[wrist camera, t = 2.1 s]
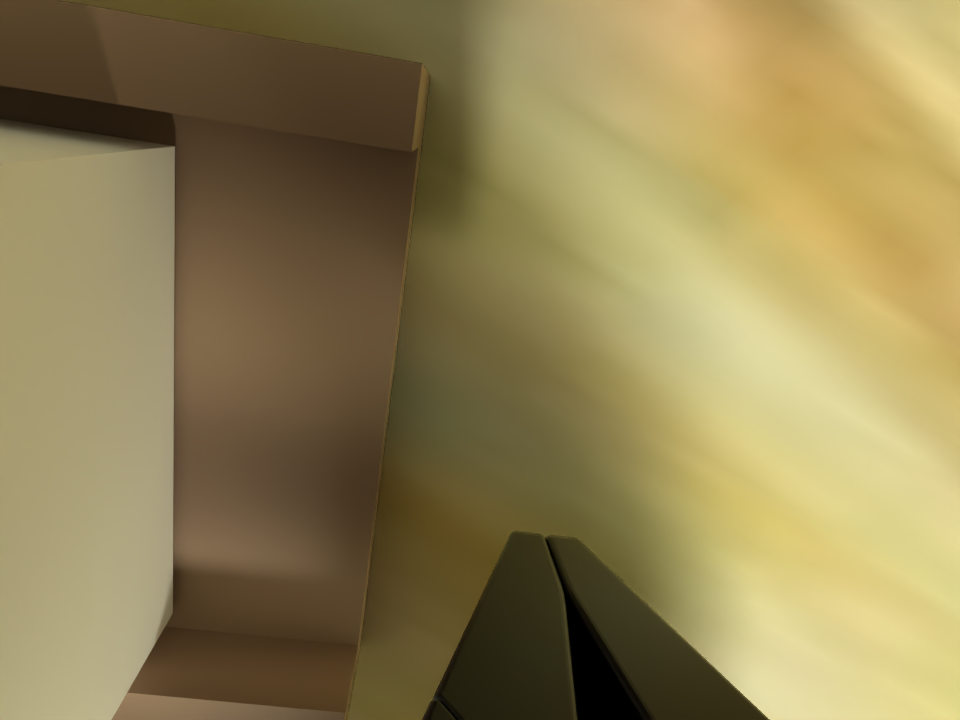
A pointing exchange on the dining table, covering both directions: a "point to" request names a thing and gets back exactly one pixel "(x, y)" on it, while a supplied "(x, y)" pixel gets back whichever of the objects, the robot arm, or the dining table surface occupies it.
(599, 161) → the dining table surface
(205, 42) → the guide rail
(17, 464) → the carriage
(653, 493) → the dining table surface
